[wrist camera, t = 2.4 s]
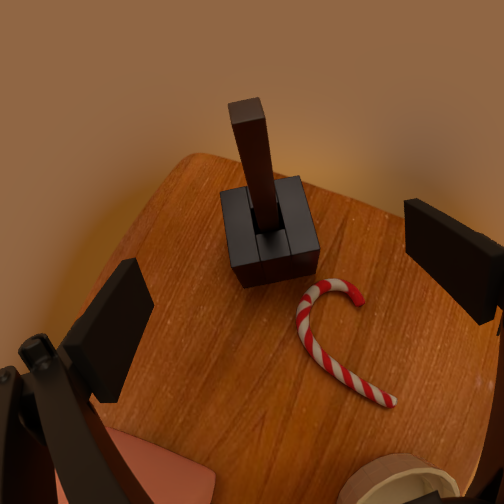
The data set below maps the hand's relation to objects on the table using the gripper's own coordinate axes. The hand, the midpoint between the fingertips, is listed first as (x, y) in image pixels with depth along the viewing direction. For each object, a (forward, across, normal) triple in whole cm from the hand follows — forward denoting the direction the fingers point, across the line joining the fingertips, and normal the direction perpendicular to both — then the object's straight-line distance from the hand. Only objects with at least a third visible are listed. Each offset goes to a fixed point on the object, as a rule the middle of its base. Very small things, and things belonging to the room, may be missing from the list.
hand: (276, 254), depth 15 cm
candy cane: (+10, +6, -16) cm, 20 cm away
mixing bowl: (-2, +7, -28) cm, 29 cm away
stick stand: (+18, 0, -7) cm, 20 cm away
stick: (+18, 0, -7) cm, 20 cm away
